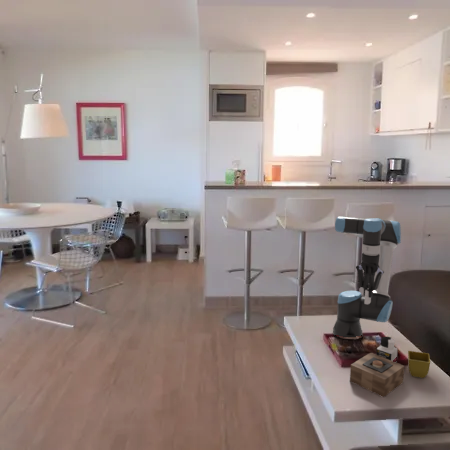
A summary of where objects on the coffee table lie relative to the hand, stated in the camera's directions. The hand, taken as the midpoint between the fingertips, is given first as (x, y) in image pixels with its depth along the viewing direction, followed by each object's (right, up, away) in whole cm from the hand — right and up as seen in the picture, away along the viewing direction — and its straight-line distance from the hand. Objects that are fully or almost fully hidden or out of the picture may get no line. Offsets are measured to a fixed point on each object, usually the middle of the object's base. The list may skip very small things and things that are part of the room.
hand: (367, 303), depth 207 cm
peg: (+1, -32, -11) cm, 33 cm away
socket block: (+1, -32, -10) cm, 34 cm away
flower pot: (+21, -31, -5) cm, 38 cm away
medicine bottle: (+11, -29, +6) cm, 31 cm away
